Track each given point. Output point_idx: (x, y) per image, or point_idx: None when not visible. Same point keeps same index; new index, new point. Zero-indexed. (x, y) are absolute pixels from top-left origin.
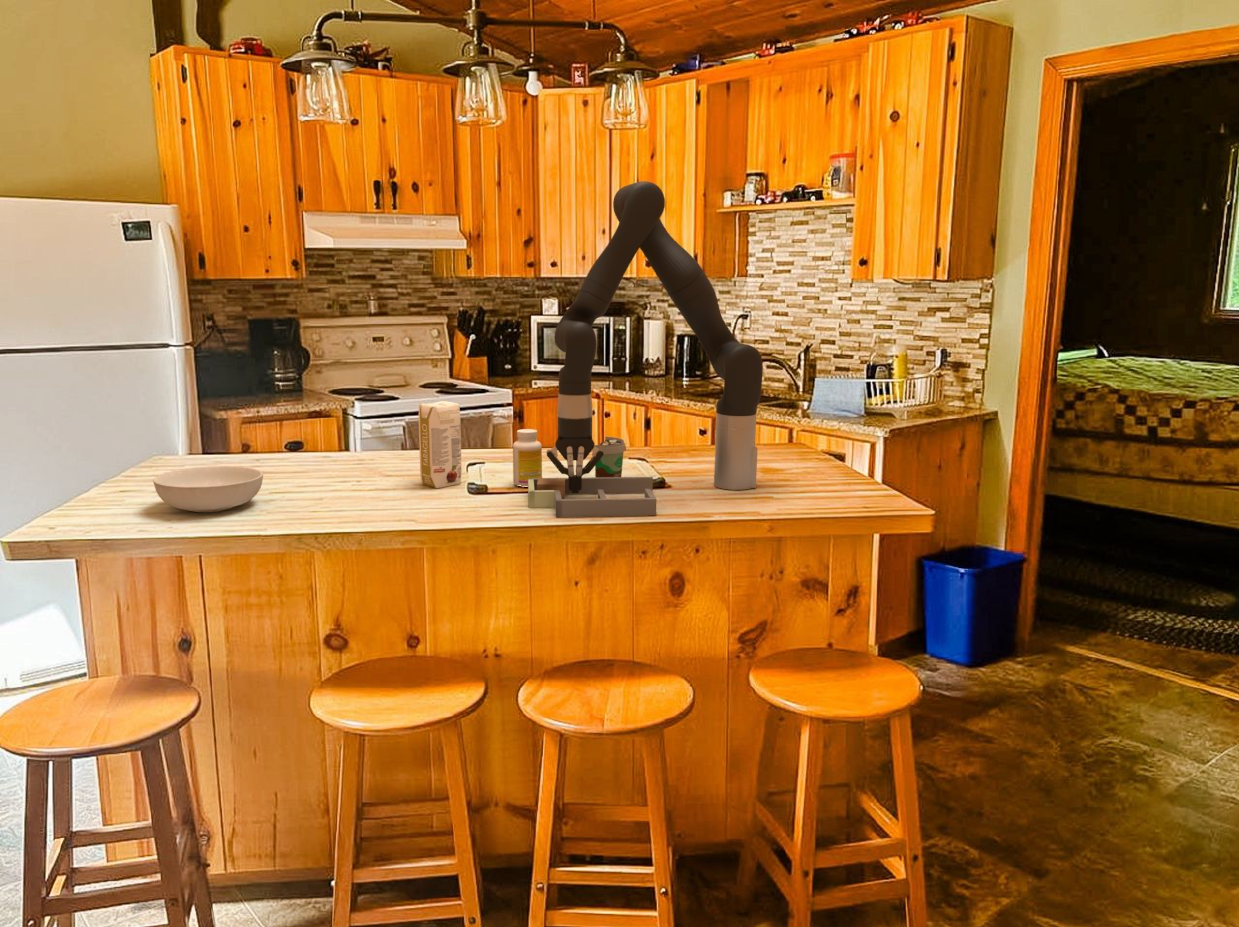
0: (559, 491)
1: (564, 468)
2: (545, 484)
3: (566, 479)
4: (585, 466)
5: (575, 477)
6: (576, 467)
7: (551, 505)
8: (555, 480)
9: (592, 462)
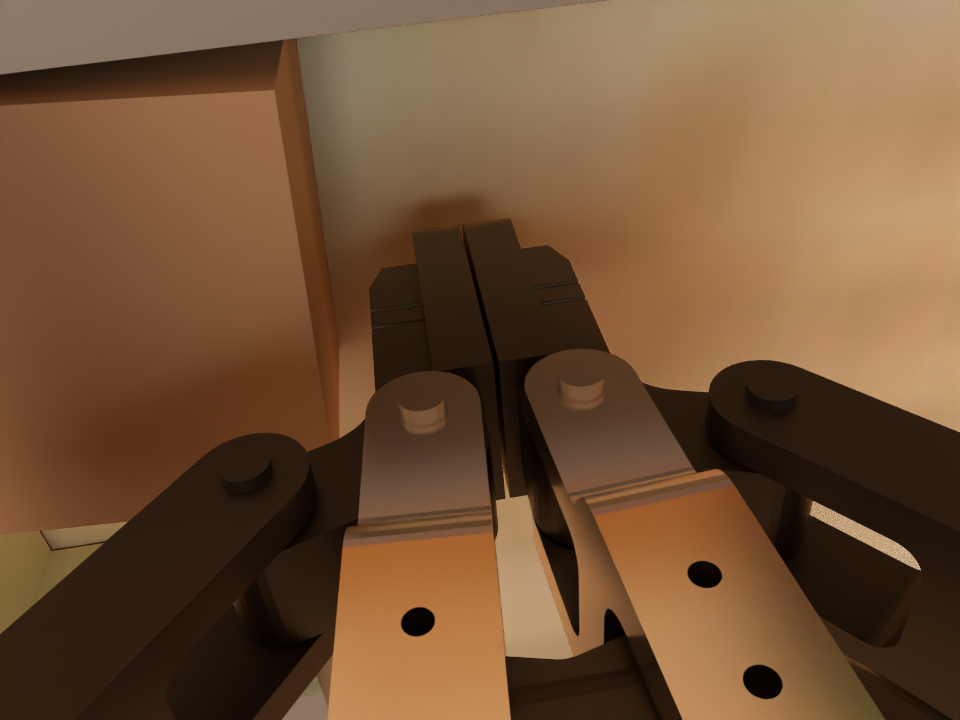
0: (315, 698)
1: (320, 654)
2: (40, 529)
3: (293, 30)
4: (763, 471)
5: (509, 490)
6: (561, 490)
7: None
8: (118, 289)
9: (924, 676)
